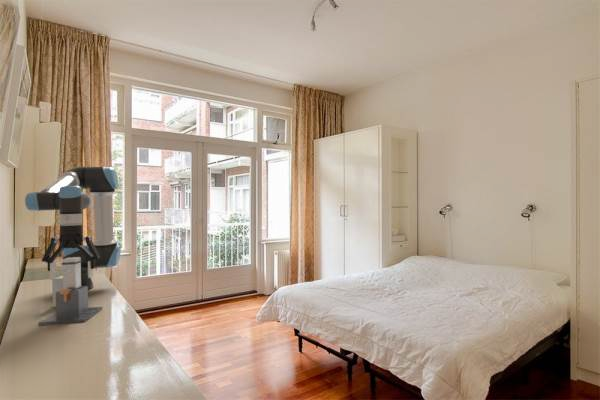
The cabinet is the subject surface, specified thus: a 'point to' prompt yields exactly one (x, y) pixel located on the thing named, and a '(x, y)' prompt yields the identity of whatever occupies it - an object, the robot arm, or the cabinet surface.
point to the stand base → (71, 307)
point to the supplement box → (56, 287)
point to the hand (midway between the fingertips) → (72, 278)
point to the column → (72, 273)
